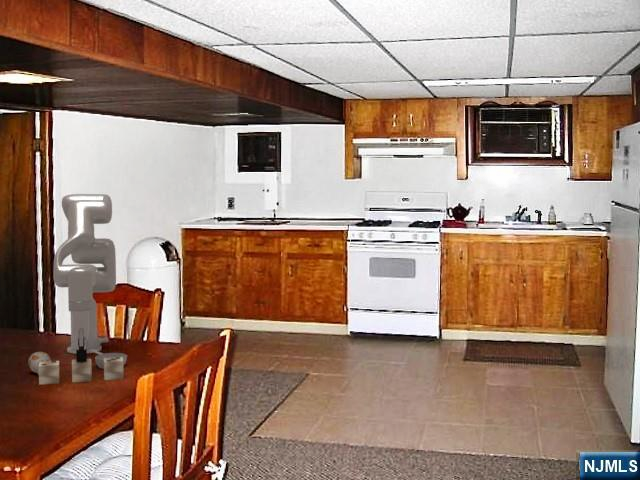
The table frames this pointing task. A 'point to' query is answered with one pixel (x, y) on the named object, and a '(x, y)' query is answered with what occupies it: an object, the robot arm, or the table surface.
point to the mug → (37, 360)
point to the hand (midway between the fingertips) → (81, 361)
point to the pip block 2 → (113, 368)
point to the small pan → (100, 358)
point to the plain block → (81, 371)
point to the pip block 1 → (49, 372)
